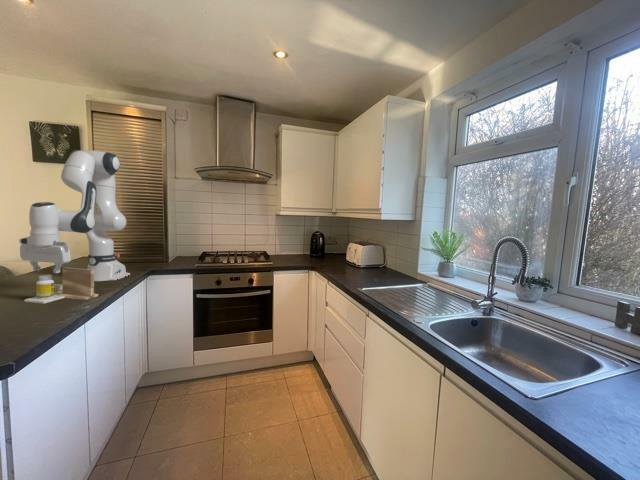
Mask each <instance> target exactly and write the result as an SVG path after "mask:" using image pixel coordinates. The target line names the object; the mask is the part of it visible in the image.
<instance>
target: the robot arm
mask: <svg viewBox="0 0 640 480" xmlns="http://www.w3.org/2000/svg"><path fill="white" fill-rule="evenodd" d="M67 157H68V158H67V160H66V161H65V164H64V165H63V168H62V170H61V175H60V178H61V181H62V183H64V185H66V186H67V187H68V188H70V189H72V190H74V191H76V192H78V193H81V203H80V208H79V209H78V210H66V209H61V208H59V207H57V204H56V203H54V202H49V201H47V202H46V201H45V202H41V201H40V202H35V203H32V204H31V206H30V208H29V215H28V216H29V217H28V219H29V221H28V222H29V226H30V232H29V236H26V237H22V238H19V240H18V242H19V244H20V246H19V254H20V258H21V260H22V261H29V263H30V265H31V268H32V270H33V271H34V272H40V271H41V266H40V265H39V262H41V263H50V264H51V263H52V264H54V266H55V267H54V268H53V269H52V273H53V274H59V273H61V269H62V268H63V267H62V266H63V265H65V264H68V263H70V262H71V260H72V256H71V250H70V248H69V245H68V244H67V243H66V242H65V241H61V240H60V232H70V233H71V232H72V233H73V232H75V233H78V234H85V236H86V238H87V242H88V255H87V261H88V265H87V268H86V269H92V270H94V282H104V281H107V282H108V281H118V280H120V279H123V278H125V276H126V277H128V275H129V276H131V275H130V274H131V273H130V272H127V270H126V266H125V264H123V263H121V262H120V261H118V260H117V258H120V256H121V255H120V254H119V253H118V254H117V253H115V251H114V250H115V248H114V246H115V242H114V240H113V239H112V238H110V237H109V236H108V234H107V231H108V232H118V231H122V230H124V229H125V227H126V226H127V218H126V217H125V215H124V214H123V213H122V212H121V211H120V210H119V208H118V205H117V202H116V188H117V187H116V186H117V185H116V184H117V183H116V175H115V174H116V173H117V172H118V171H119V170H120V167H121V162H120V158H119V157H118V156H117V155H116V154H115V153H112V152H109V151H107V152H105V151H99V150H87V149H86V150H83V149H74V150H72V151H71V152H69V154H68V156H67ZM96 206H97V209H98V210H96ZM114 253H115V254H114ZM117 279H118V280H117Z"/></svg>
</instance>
